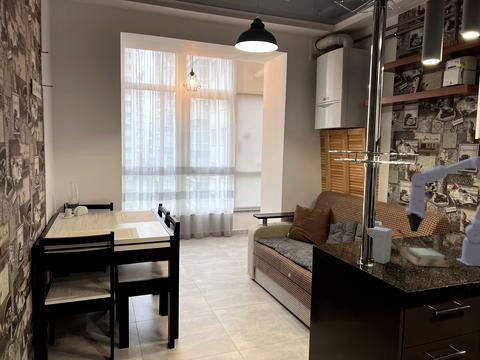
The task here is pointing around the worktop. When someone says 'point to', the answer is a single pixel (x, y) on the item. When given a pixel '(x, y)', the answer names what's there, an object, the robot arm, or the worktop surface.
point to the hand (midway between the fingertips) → (413, 231)
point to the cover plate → (427, 253)
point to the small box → (381, 243)
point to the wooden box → (424, 262)
